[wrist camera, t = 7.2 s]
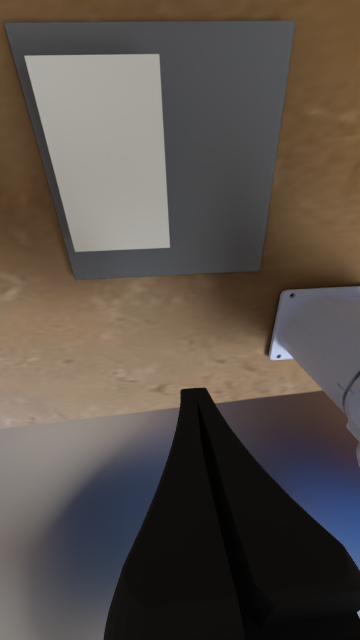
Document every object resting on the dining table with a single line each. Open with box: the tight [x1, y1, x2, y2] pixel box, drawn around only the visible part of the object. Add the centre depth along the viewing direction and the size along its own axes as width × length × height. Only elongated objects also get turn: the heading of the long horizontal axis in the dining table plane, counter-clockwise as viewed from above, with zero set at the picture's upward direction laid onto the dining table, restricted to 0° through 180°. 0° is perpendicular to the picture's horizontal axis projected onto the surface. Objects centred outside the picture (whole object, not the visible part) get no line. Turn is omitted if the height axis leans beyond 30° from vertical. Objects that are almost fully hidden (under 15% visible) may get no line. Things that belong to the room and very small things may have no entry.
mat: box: [4, 21, 295, 280], centre depth 14 cm, size 16×14×1 cm
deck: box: [24, 54, 170, 252], centre depth 13 cm, size 2×9×6 cm
